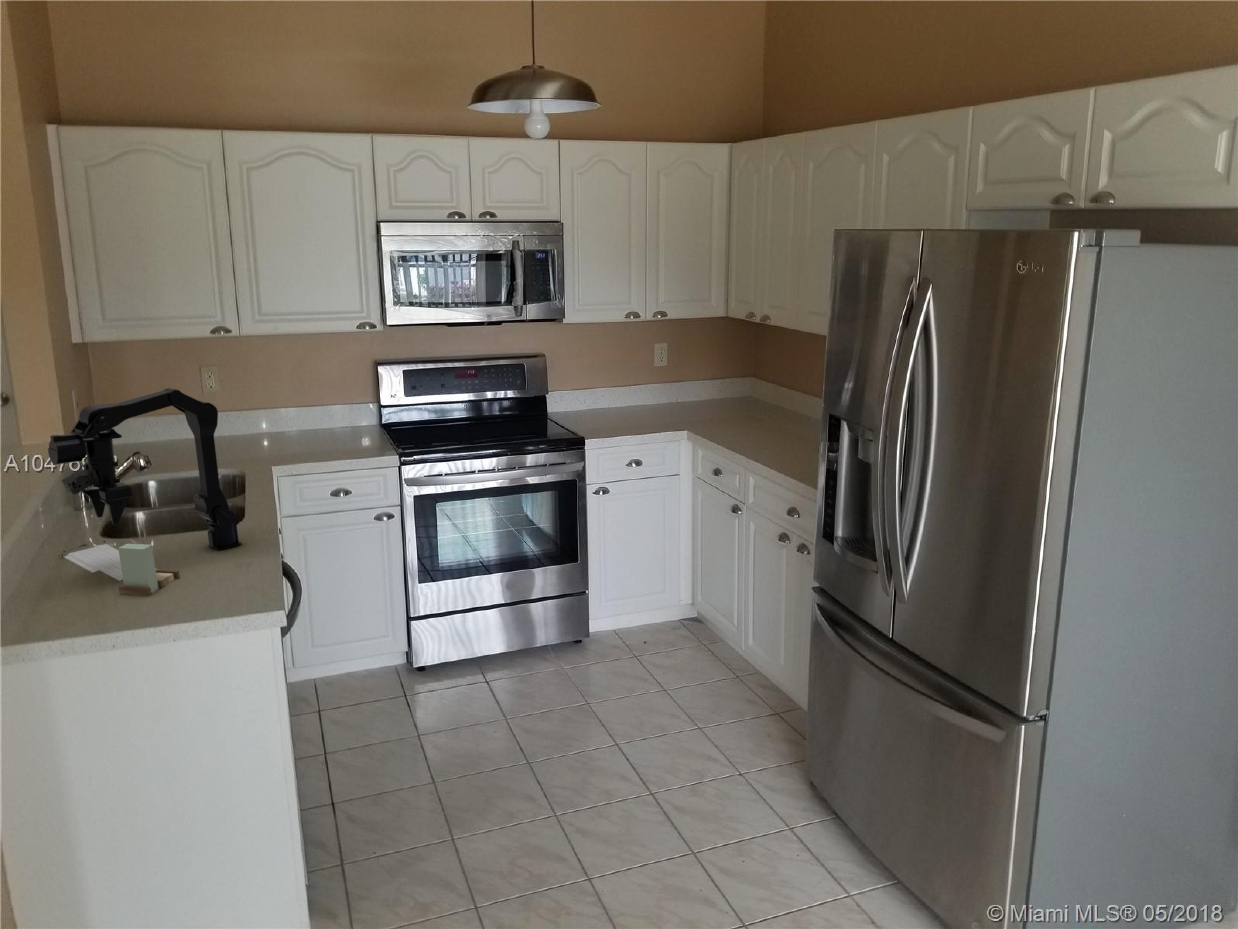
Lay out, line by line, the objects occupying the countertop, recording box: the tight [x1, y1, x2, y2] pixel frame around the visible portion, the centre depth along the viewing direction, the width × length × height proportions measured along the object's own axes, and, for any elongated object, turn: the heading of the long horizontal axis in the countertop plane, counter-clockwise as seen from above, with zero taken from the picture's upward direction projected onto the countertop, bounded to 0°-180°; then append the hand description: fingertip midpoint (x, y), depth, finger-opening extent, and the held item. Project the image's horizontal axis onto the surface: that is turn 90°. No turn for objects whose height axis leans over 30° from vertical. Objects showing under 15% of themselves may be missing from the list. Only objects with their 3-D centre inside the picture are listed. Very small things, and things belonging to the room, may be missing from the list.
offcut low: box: [164, 577, 174, 585], centre depth 222 cm, size 4×6×1 cm, turn 80°
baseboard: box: [58, 540, 160, 582], centre depth 235 cm, size 31×3×12 cm
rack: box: [117, 568, 181, 597], centre depth 220 cm, size 12×8×3 cm, turn 170°
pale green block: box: [117, 543, 159, 593], centre depth 215 cm, size 3×6×11 cm, turn 81°
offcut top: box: [156, 573, 174, 582], centre depth 222 cm, size 4×6×1 cm, turn 80°
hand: (107, 520), depth 225 cm, fingers open, 9 cm apart
